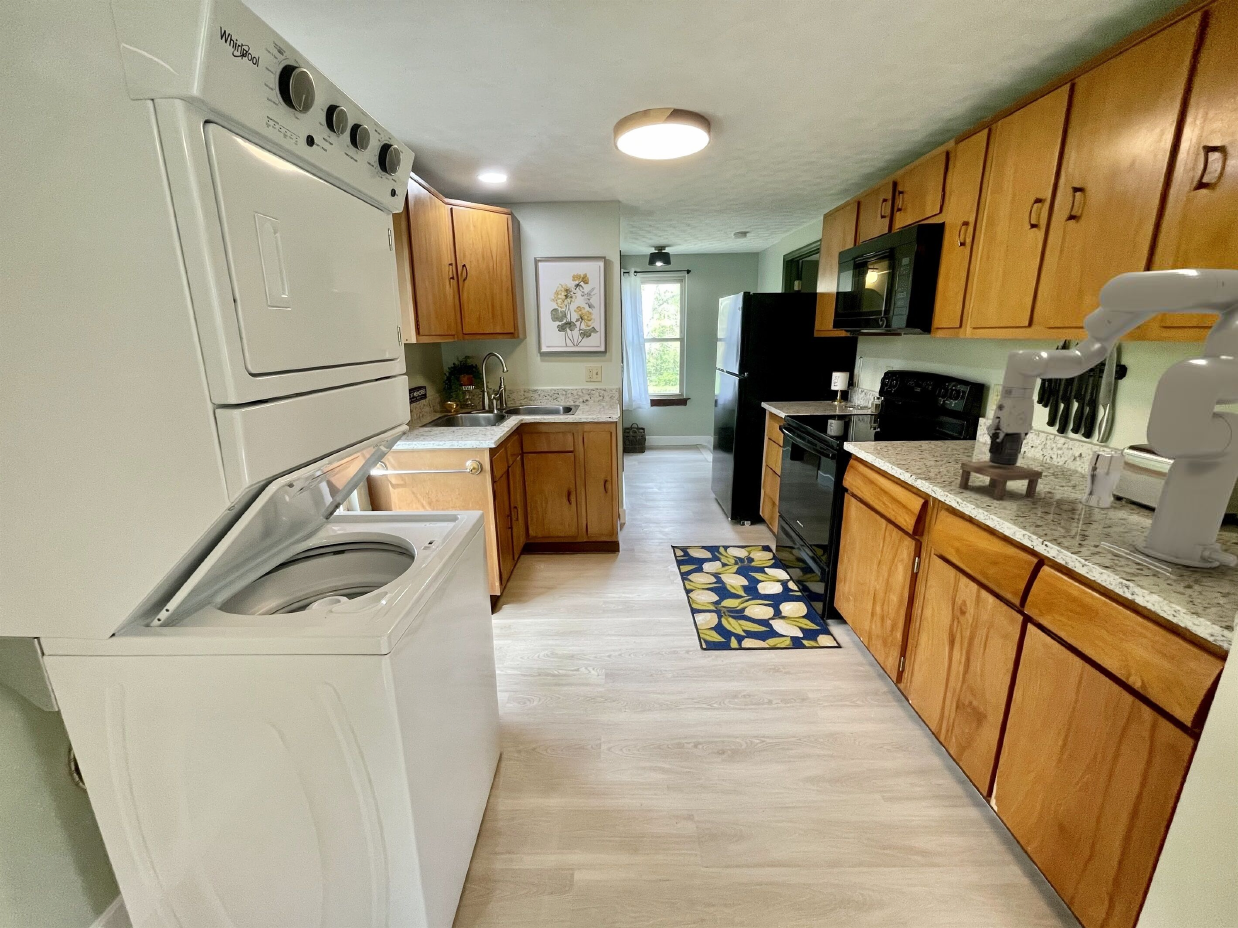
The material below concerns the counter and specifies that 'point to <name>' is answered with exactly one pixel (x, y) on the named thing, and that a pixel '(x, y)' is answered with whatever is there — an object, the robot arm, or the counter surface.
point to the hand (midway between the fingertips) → (1004, 453)
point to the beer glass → (1102, 478)
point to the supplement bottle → (1008, 450)
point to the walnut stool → (1000, 476)
